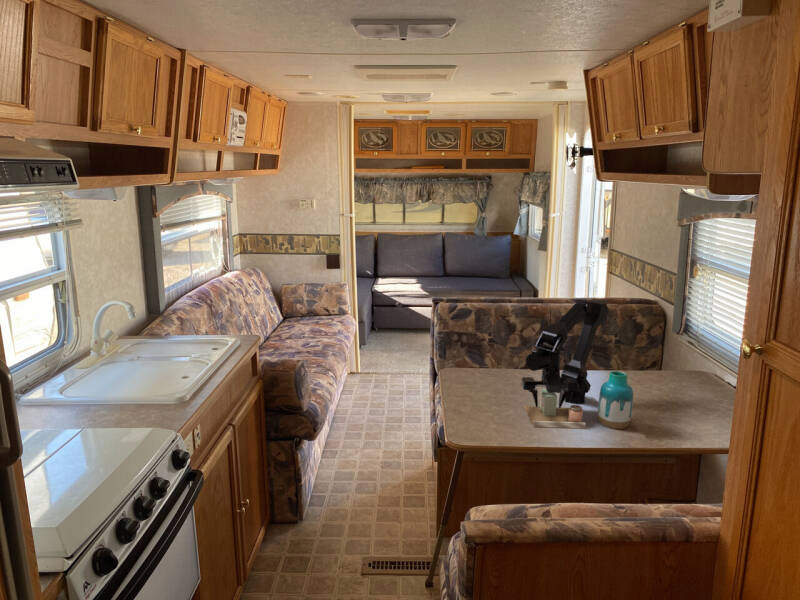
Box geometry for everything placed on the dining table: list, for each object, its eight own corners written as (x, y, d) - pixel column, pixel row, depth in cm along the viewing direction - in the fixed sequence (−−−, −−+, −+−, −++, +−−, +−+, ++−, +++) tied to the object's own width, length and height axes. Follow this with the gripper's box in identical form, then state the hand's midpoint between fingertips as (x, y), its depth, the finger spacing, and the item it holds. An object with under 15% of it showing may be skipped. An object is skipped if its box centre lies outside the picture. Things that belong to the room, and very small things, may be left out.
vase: (612, 419, 200) (617, 366, 196) (637, 431, 191) (643, 376, 187) (589, 424, 196) (594, 370, 191) (613, 437, 186) (619, 380, 182)
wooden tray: (572, 411, 206) (572, 403, 205) (584, 432, 189) (585, 423, 189) (523, 410, 206) (524, 401, 206) (532, 431, 190) (533, 421, 189)
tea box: (539, 407, 205) (541, 388, 204) (551, 407, 205) (552, 389, 204) (543, 415, 199) (545, 396, 197) (555, 415, 198) (557, 396, 197)
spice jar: (579, 421, 195) (581, 404, 193) (583, 426, 190) (584, 410, 189) (566, 420, 195) (567, 404, 193) (569, 426, 190) (571, 409, 189)
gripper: (527, 371, 191) (524, 416, 194) (585, 373, 190) (581, 417, 193) (522, 361, 202) (519, 403, 205) (576, 362, 201) (572, 404, 204)
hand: (548, 407), depth 202 cm, fingers open, 8 cm apart
